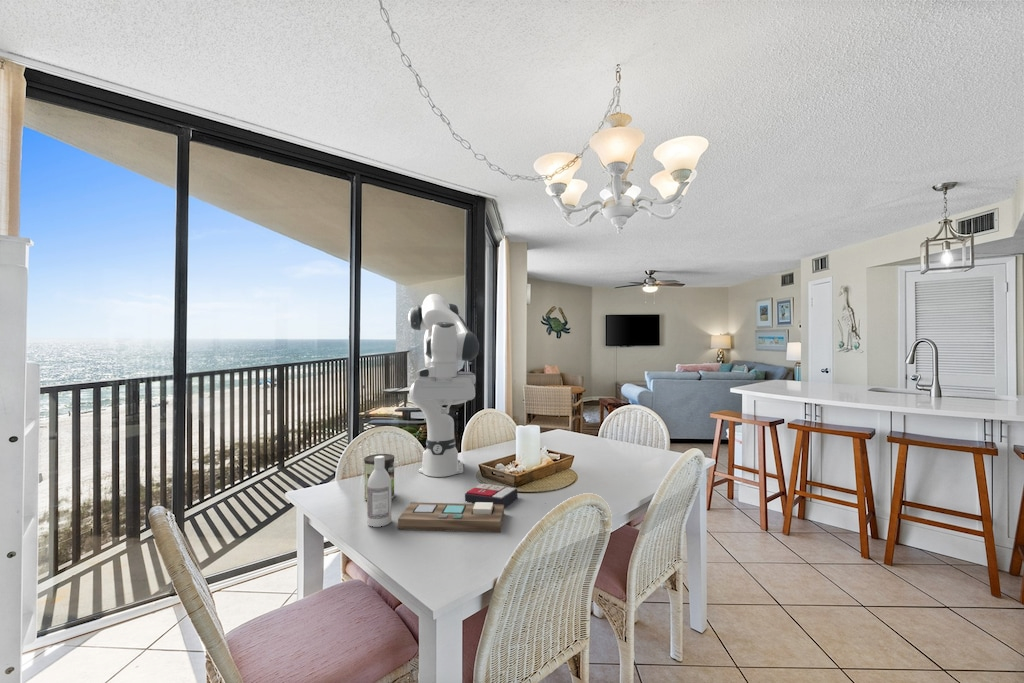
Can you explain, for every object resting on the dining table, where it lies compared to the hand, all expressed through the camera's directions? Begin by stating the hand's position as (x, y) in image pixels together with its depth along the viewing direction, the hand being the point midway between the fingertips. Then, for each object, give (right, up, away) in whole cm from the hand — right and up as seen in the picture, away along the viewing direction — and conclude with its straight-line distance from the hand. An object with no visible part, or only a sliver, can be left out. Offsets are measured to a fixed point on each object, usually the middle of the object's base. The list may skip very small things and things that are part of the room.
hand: (444, 413), depth 143 cm
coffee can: (-24, -31, +10) cm, 41 cm away
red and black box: (+15, -32, +7) cm, 36 cm away
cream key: (+13, -29, -10) cm, 33 cm away
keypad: (+4, -31, -11) cm, 33 cm away
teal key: (+4, -30, -9) cm, 32 cm away
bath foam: (-18, -31, -12) cm, 38 cm away
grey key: (-5, -30, -9) cm, 31 cm away
